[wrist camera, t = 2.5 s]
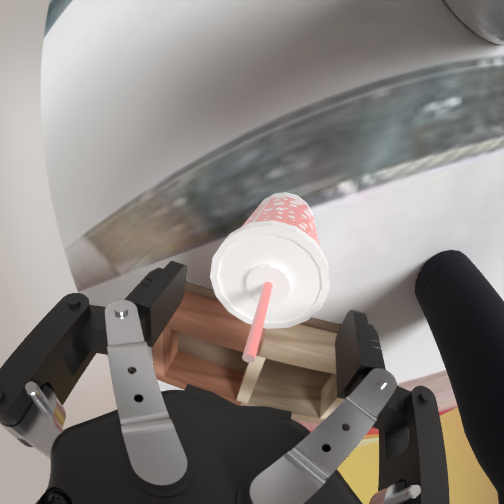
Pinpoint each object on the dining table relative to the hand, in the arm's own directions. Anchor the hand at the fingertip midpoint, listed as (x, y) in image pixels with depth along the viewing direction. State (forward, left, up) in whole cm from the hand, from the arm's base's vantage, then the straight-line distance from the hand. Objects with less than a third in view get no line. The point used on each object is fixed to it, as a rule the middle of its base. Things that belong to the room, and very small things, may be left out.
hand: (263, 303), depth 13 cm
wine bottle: (+1, +16, -10) cm, 19 cm away
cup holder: (+14, +1, -10) cm, 17 cm away
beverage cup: (0, 0, -10) cm, 10 cm away
